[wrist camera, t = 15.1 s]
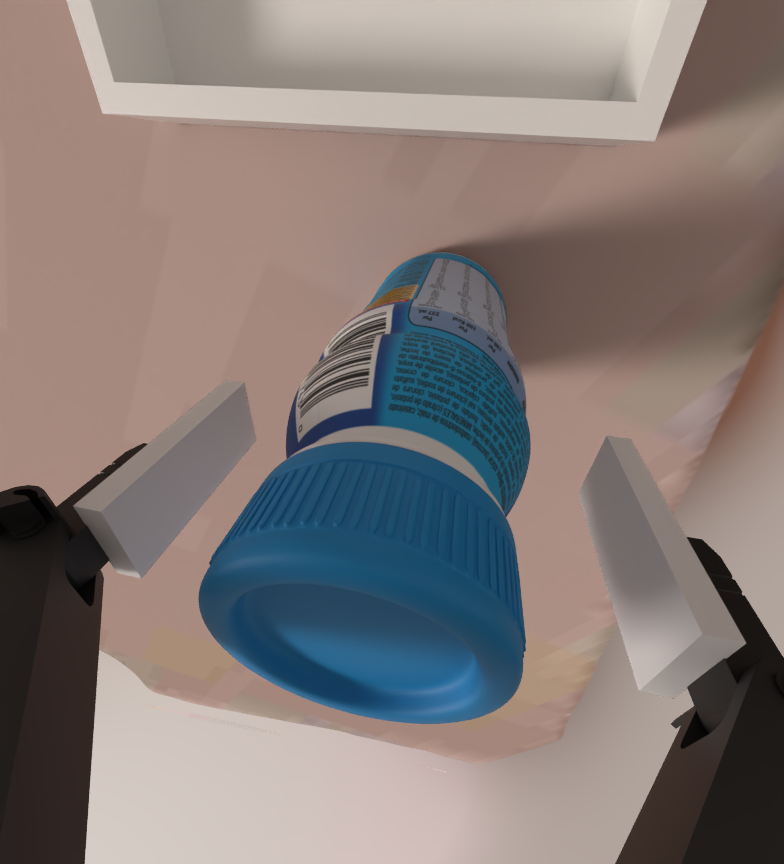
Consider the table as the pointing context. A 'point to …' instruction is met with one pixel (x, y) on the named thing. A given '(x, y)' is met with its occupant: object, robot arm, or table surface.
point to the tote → (394, 65)
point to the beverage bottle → (391, 513)
